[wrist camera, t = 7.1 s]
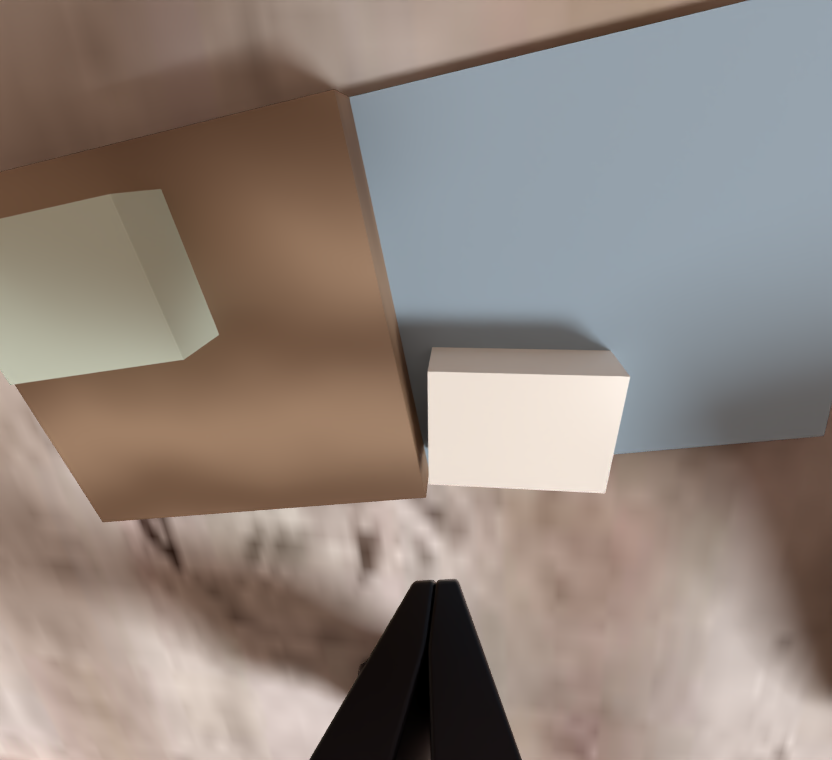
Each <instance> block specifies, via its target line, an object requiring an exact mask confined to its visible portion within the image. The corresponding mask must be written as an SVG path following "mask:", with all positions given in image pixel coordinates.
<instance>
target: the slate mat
mask: <svg viewBox="0 0 832 760" xmlns="http://www.w3.org/2000/svg"><path fill="white" fill-rule="evenodd" d="M349 98H350V103H351V107H352V112H353V117H354V122H355V126H356V131H357V136H358V140H359V145H360V150H361V154H362V159H363V164H364V168H365V173H366V178H367V182H368V187H369V192H370V196H371V201H372V206H373V210H374V215H375V220H376V224H377V229H378V234H379V238H380V243H381V248H382V252H383V257H384V262H385V266H386V271H387V276H388V280H389V285H390V290H391V294H392V299H393V304H394V308H395V313H396V318H397V322H398V327H399V332H400V336H401V341H402V346H403V350H404V355H405V360H406V364H407V369H408V374H409V378H410V383H411V388H412V393H413V397H414V402H415V407H416V411H417V416H418V421H419V425H420V430H421V435H422V439H423V444H424V449H425V453H426V458H427V463H428V467H429V462H428V367H429V361H430V356H431V350H432V347H450V348H502V349H554V350H606V351H611V352H612V353H613V354H614V356H615V357H616V358H617V360H618V361H619V362H620V364H621V365H622V366H623V368H624V369H625V370H626V372H627V373H628V374H629V376H630V380H629V385H628V389H627V394H626V399H625V403H624V408H623V412H622V417H621V422H620V426H619V431H618V436H617V440H616V445H615V450H614V454H623V453H635V452H646V451H658V450H669V449H680V448H692V447H703V446H715V445H726V444H738V443H749V442H761V441H772V440H784V439H795V438H806V437H818V436H824V433H825V429H826V425H827V421H828V417H829V413H830V409H831V405H832V0H748V1H744V2H740V3H736V4H732V5H728V6H723V7H719V8H715V9H711V10H707V11H703V12H699V13H695V14H690V15H686V16H682V17H678V18H674V19H670V20H666V21H662V22H657V23H653V24H649V25H645V26H641V27H637V28H633V29H629V30H625V31H620V32H616V33H612V34H608V35H604V36H600V37H596V38H592V39H587V40H583V41H579V42H575V43H571V44H567V45H563V46H559V47H554V48H550V49H546V50H542V51H538V52H534V53H530V54H526V55H521V56H517V57H513V58H509V59H505V60H501V61H497V62H493V63H489V64H484V65H480V66H476V67H472V68H468V69H464V70H460V71H456V72H451V73H447V74H443V75H439V76H435V77H431V78H427V79H423V80H418V81H414V82H410V83H406V84H402V85H398V86H394V87H390V88H385V89H381V90H377V91H373V92H369V93H365V94H361V95H357V96H352V97H349Z"/></svg>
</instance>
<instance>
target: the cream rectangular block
mask: <svg viewBox="0 0 832 760" xmlns="http://www.w3.org/2000/svg"><path fill="white" fill-rule="evenodd" d="M629 380H630V376H629V374H628V373H627V372H626V370H625V369H624V368H623V366H622V365H621V364H620V362H619V361H618V360H617V358H616V357H615V356H614V354H613V353H612V352H611V351H606V350H554V349H502V348H450V347H432V350H431V356H430V361H429V367H428V462H429V484H432V485H452V486H472V487H492V488H511V489H531V490H551V491H571V492H591V493H605V491H606V487H607V482H608V477H609V473H610V468H611V464H612V459H613V454H614V450H615V445H616V440H617V436H618V431H619V426H620V422H621V417H622V412H623V408H624V403H625V399H626V394H627V389H628V385H629Z"/></svg>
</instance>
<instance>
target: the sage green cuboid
mask: <svg viewBox="0 0 832 760" xmlns="http://www.w3.org/2000/svg"><path fill="white" fill-rule="evenodd" d="M218 335H219V333H218V330H217V328H216V325H215V323H214V320H213V318H212V315H211V313H210V310H209V308H208V305H207V303H206V300H205V298H204V295H203V293H202V290H201V288H200V285H199V283H198V280H197V278H196V275H195V273H194V270H193V268H192V265H191V263H190V260H189V258H188V255H187V253H186V250H185V248H184V245H183V243H182V240H181V238H180V235H179V233H178V230H177V228H176V225H175V223H174V220H173V218H172V215H171V213H170V210H169V208H168V205H167V203H166V200H165V198H164V195H163V193H162V190H161V189H155V190H145V191H135V192H124V193H114V194H107V195H103V196H98V197H94V198H90V199H85V200H81V201H76V202H72V203H67V204H63V205H59V206H54V207H50V208H45V209H41V210H36V211H32V212H27V213H23V214H19V215H14V216H10V217H5V218H1V219H0V370H1V372H2V373H3V375H4V376H5V378H6V380H7V381H8V383H9V384H10V385H13V384H20V383H27V382H34V381H41V380H48V379H54V378H61V377H68V376H75V375H82V374H89V373H96V372H103V371H110V370H116V369H123V368H130V367H137V366H144V365H151V364H158V363H165V362H172V361H178V360H184V359H186V358H187V357H188V356H190V355H191V354H193V353H194V352H196V351H197V350H198V349H200V348H201V347H203V346H204V345H205V344H207V343H208V342H210V341H211V340H212V339H214V338H215V337H217V336H218Z"/></svg>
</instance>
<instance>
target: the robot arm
mask: <svg viewBox="0 0 832 760" xmlns="http://www.w3.org/2000/svg"><path fill="white" fill-rule="evenodd" d="M310 760H522V759H521V756H520V753H519V750H518V747H517V745H516V742H515V739H514V736H513V733H512V730H511V728H510V725H509V722H508V719H507V716H506V714H505V711H504V708H503V705H502V702H501V699H500V697H499V694H498V691H497V688H496V685H495V683H494V680H493V677H492V674H491V671H490V669H489V666H488V663H487V660H486V657H485V654H484V652H483V649H482V646H481V643H480V640H479V638H478V635H477V632H476V629H475V626H474V623H473V621H472V618H471V615H470V612H469V609H468V607H467V604H466V601H465V598H464V595H463V592H462V590H461V587H460V584H459V582H458V580H456V579H445V580H438V581H437V582H435V581H434V580H422V581H415V582H414V583H413V584H412V585H411V587H410V589H409V590H408V592H407V594H406V595H405V597H404V599H403V601H402V602H401V604H400V606H399V607H398V609H397V611H396V613H395V614H394V616H393V618H392V619H391V621H390V623H389V625H388V626H387V628H386V630H385V631H384V633H383V635H382V636H381V638H380V640H379V642H378V643H377V645H376V647H375V648H374V650H373V652H372V654H371V655H370V657H369V659H368V660H367V662H366V663H363V664H361V665H360V668H359V673H358V678H357V679H356V681H355V683H354V684H353V686H352V688H351V689H350V691H349V693H348V695H347V696H346V698H345V700H344V701H343V703H342V705H341V707H340V708H339V710H338V712H337V713H336V715H335V717H334V719H333V720H332V722H331V724H330V725H329V727H328V729H327V730H326V732H325V734H324V736H323V737H322V739H321V741H320V742H319V744H318V746H317V748H316V749H315V751H314V753H313V754H312V756H311V758H310Z"/></svg>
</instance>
